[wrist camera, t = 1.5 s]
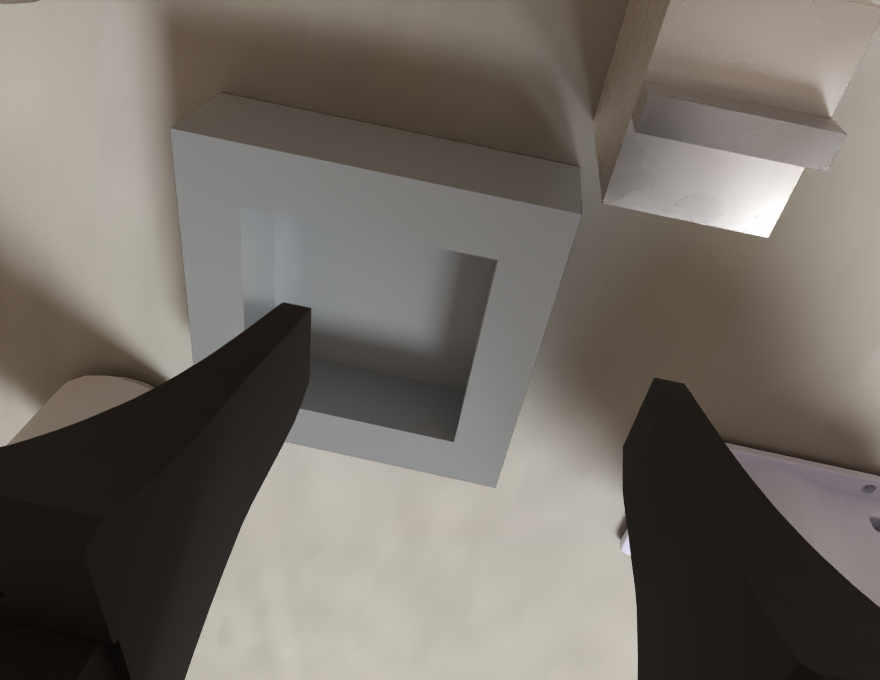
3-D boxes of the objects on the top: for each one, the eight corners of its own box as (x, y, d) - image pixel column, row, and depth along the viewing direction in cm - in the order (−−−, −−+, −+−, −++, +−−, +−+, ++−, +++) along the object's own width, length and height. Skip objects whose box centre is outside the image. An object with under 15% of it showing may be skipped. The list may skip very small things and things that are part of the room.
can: (42, 352, 30) (-197, 584, 21) (199, 374, 30) (26, 624, 20) (87, 464, 35) (-92, 696, 25) (223, 485, 34) (92, 731, 25)
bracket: (798, -36, 17) (909, 21, 12) (719, 146, 20) (779, 258, 15) (648, -65, 17) (688, -24, 12) (593, 120, 21) (604, 222, 15)
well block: (579, 166, 21) (582, 214, 19) (501, 426, 29) (495, 487, 26) (219, 92, 22) (169, 128, 19) (233, 367, 29) (199, 422, 26)
